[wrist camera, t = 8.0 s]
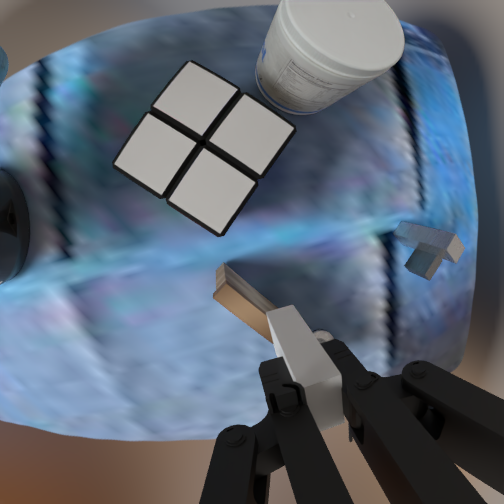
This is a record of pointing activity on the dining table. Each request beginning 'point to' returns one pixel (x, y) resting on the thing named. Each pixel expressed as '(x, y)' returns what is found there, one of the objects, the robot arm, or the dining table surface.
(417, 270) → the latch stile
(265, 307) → the wooden plank
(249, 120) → the puzzle cube
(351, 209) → the dining table surface
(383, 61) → the supplement tub
